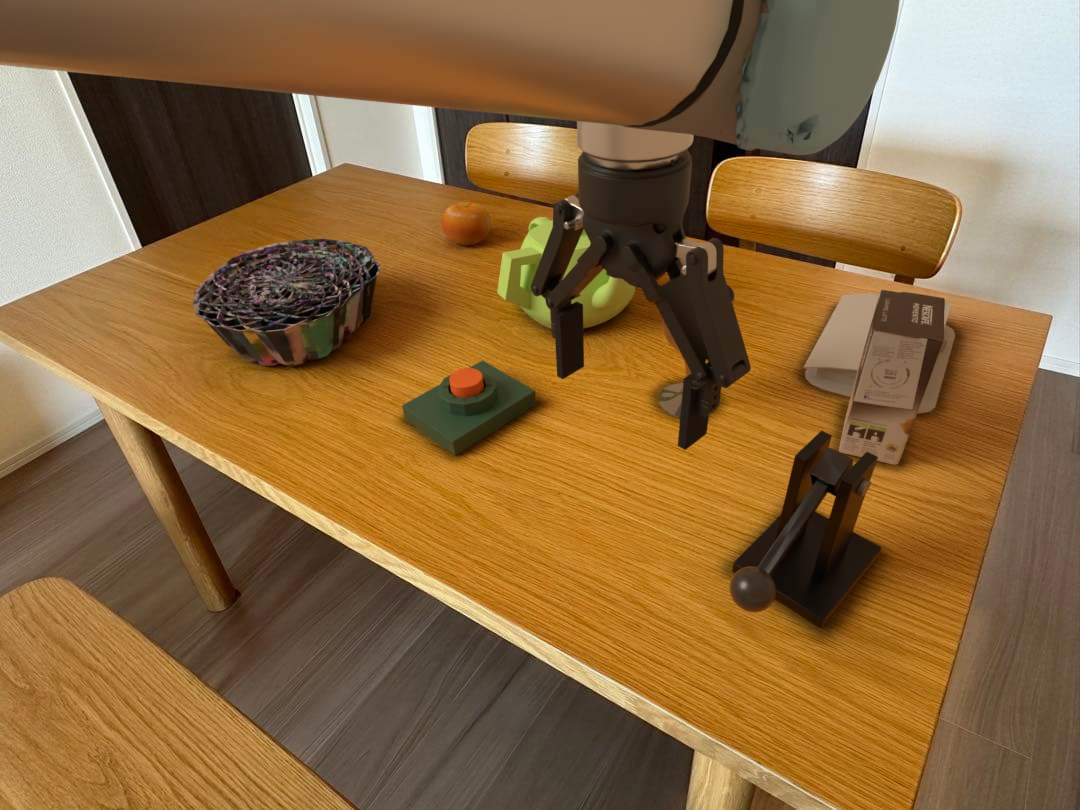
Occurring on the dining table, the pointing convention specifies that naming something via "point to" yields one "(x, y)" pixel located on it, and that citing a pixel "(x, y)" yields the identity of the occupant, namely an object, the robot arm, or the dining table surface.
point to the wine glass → (673, 394)
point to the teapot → (597, 297)
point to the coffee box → (893, 374)
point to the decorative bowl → (290, 299)
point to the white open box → (845, 344)
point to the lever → (788, 535)
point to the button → (466, 383)
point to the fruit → (466, 223)
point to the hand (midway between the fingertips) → (627, 403)
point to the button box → (469, 409)
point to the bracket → (819, 540)
